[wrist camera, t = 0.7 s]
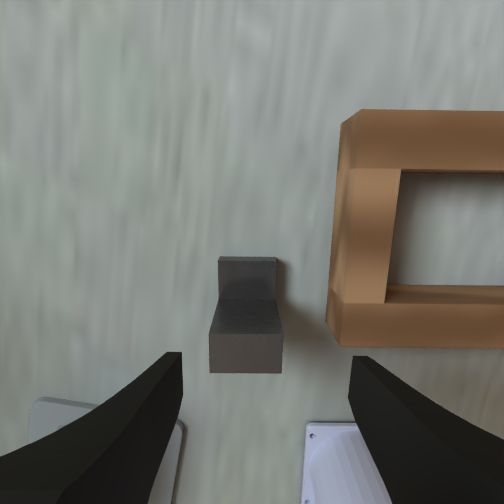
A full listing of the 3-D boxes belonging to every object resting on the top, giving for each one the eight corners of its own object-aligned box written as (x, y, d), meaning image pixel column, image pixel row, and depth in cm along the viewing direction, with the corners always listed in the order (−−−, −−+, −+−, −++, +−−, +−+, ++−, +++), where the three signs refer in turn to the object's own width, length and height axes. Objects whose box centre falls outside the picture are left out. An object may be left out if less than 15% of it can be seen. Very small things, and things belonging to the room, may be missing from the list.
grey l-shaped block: (273, 322, 21) (281, 373, 16) (220, 322, 21) (209, 372, 16) (275, 257, 20) (285, 285, 14) (219, 256, 20) (207, 284, 14)
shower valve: (172, 448, 18) (147, 607, 21) (190, 388, 23) (168, 523, 26) (-27, 418, 17) (-21, 586, 21) (39, 363, 23) (35, 504, 26)
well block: (533, 323, 21) (586, 348, 18) (325, 321, 21) (339, 346, 18) (584, 127, 18) (660, 113, 15) (341, 123, 18) (361, 109, 15)
